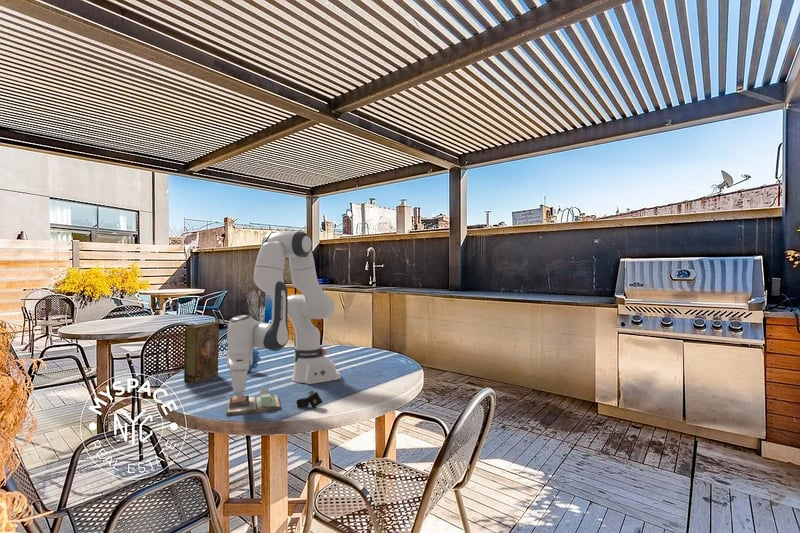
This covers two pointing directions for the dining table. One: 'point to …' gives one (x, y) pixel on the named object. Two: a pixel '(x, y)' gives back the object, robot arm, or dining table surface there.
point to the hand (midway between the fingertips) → (239, 397)
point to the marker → (265, 397)
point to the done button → (234, 399)
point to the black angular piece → (309, 400)
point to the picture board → (251, 405)
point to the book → (201, 352)
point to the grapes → (254, 360)
